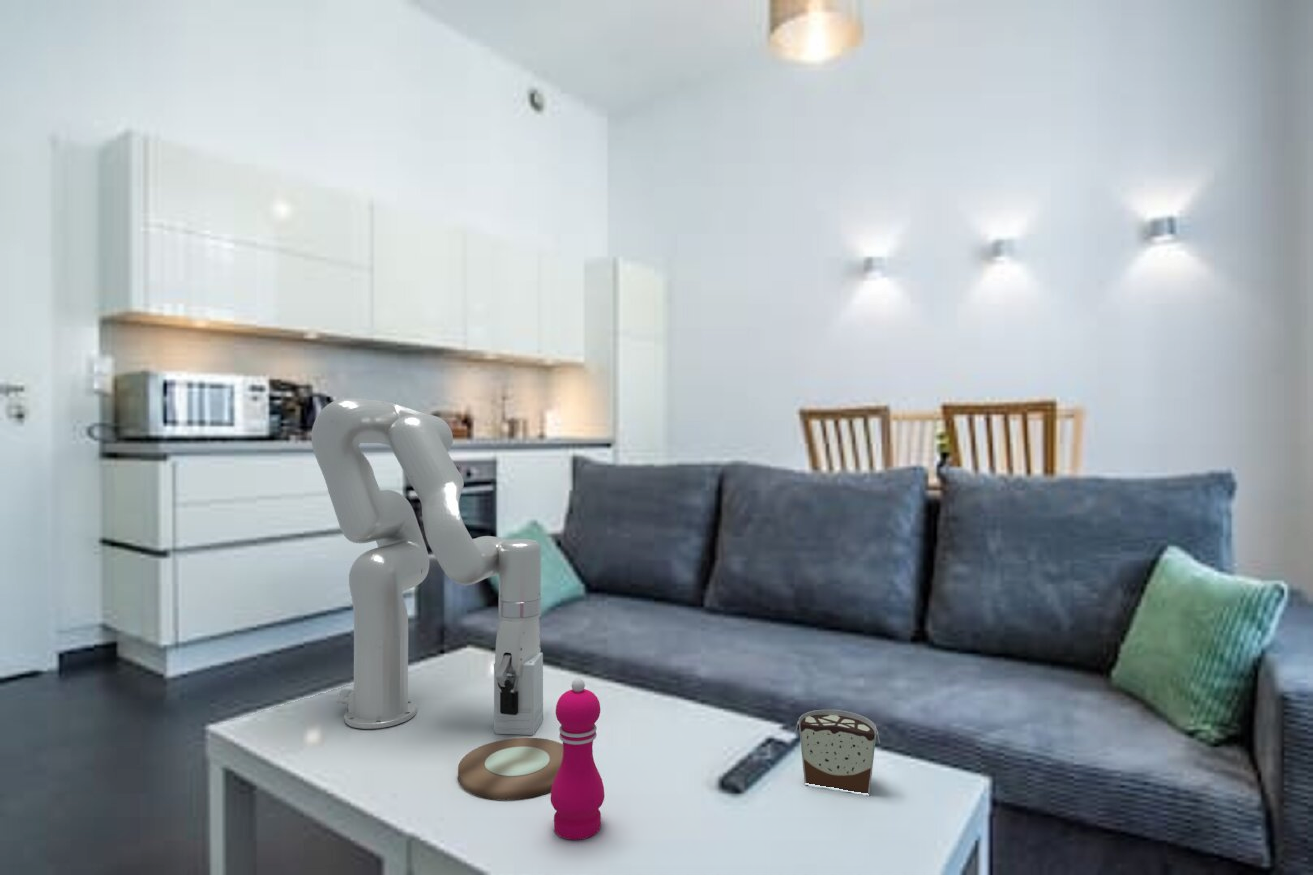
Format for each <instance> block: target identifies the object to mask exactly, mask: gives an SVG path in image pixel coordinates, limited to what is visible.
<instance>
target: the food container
mask: <svg viewBox="0 0 1313 875" xmlns="http://www.w3.org/2000/svg"><path fill="white" fill-rule="evenodd" d="M795 727H796V728H795V733H796V732H799V740H800V748H801V749H800V750H801V760H802V768H803V769H802V770H803V779H804V784H805V783H809V784H815V785H820V786H826V787H834V788H839V789H843V790H848V791H854V792H861V793H868V794H869V795H870V792H871V786H872V785H871V782H872V776H873V766H874V758H875V757H874V756H875V749H876V743H877V742H876V741H877V740H878V744H881V740H880V736H879V731H878V729H877V725H876V724H875V723H874V722H873V721H872V720H870V719H869V718H868V717H865V716H863V715H860V714H858V713H854V712H850V711H847V710H846V711H845V710H840V709H839V710H838V709H818V710H812V711H808V712H805V713H803V714H801V716H800V717H798V720H797V721H796V726H795ZM798 730H799V731H798Z"/></svg>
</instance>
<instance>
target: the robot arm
mask: <svg viewBox="0 0 1313 875" xmlns="http://www.w3.org/2000/svg"><path fill="white" fill-rule="evenodd" d="M360 444H382V445H386V446H388V447H390V449H391V451H392V452H393V454H394V456H395V458H396V460H397V462H398V463H399V465H400V467H401V469H402V471H403V473H404V474H405V476H406V477H407V479H408V481H409V482H410V485H411V487H412V488H413V490H414V493H415V494H416V496H417V497H418V500H419V501H420V504H421V516H422V524H423V530H424V534H425V538H426V541H427V544H428V546H429V548H430V550H431V552H432V554H433V555H434V557H435V559H436V560H437V563H438V564H439V566H440V567H441V569H442V571H443V572H444V573H445V575H446V576H447V577H448V578H449V579H450V580H451V581H452V582H454V583H456V584H458V585H462V586H471V585H475V584H476V583H480V582H481V581H483V580H485V579H488V578H492V577H495V576H498V618H499V620H498V625H497V631H496V639H495V652H494V654H495V656H494V663H495V674H496V679H497V681H498V686H499V692H500V713H501V714H508V715H517V714H518V691H516V688H517V684H518V678H519V677H520V676H521V675H522V672H523V665H524V664H525V663H526V662H527V661H529V660H530V659H531V658H533V657H534V656H535V655H537V654H538V653H541V634H540V633H541V632H540V631H541V630H540V618H541V616H542V610H541V608H542V601H541V600H542V594H541V592H542V591H541V590H542V569H541V568H542V548H541V544H540V543H539V542H538V541H537V540H534V539H530V538H513V539H509V538H508V539H507V538H502V537H498V536H491V535H485V536H484V535H483V536H478V537H476V538H472V536H471V534H470V533H469V531H468V529H467V527H466V525H465V523H464V521H463V518H462V515H461V512H460V511H461V510H460V499H461V494H462V492H463V488H464V484H465V483H464V479H463V477H462V475H461V473H460V472H459V470H458V468H457V466H456V465H455V463H454V461H453V459H452V458H451V455H450V454H449V452H450V450H451V448H452V445H453V444H454V436H453V432H452V428H451V426H449V424H448V423H447V422H446V421H445V420H444V419H443V418H441V417H439V416H436V415H433V414H429V413H425V412H423V411H418V410H415V409H412V408H409V407H407V406H404V405H400V404H396V403H394V402H391V401H385V400H377V399H369V398H359V397H344V398H340V399H336V400H334V401H332V402H329V403H328V404H327V405H325V406H324V407H323V408H322V409H321V410H320V412H319V413H318V415H317V416H316V418H315V420H314V422H313V425H312V429H311V446H312V450H313V454H314V456H315V459H316V461H317V464H318V466H319V469H320V471H321V472H322V473H321V474H322V475H323V478H324V482H325V484H326V488H327V491H328V494H329V499H330V500H331V503H332V507H333V510H334V513H335V515H336V518H337V522H338V526H339V528H340V531H341V532H342V534H343V536H344V537H345V539H347V540H348V541H349V542H351V543H353V544H367V543H368V544H369V543H372V542H375V543H376V544H377V547H374V548H372V549H369V550H367V551H365V552H363V553H362V554H360V555H359V556H358V557H357V558H356V559H355V560H354V561H353V563H352V565H351V567H350V569H349V570H350V571H349V573H348V585H349V590H350V591H349V592H350V596H351V601H352V602H351V603H352V611H353V689H349V688H348V689H347V688H343V689H341V690H340V691H339V696H338V697H337V700H336V702H337V704H339V705H340V704H341V705H346V704H347V706H348V709H347V710H346V711H345V713H344V716H343V717H344V723H345V724H346V725H347V726H349V727H351V728H356V729H361V730H362V729H363V730H375V729H376V730H377V729H384V728H389V727H393V726H397V725H400V724H403V723H405V722H407V721H409V720H411V719H412V718H413V717H414V716H415V715H416V714H417V709H418V708H417V704H416V703H415V702H414V701H412V700H410V699H408V698H409V614H408V610H407V606H406V603H405V600H404V595H403V593H404V592H405V591H406V592H407V590H410V589H413V588H415V587H417V586H418V585H420V584H421V583H422V582H423V581H424V580H425V579H426V578H427V576H428V573H429V570H430V556H429V553H428V550H427V546H426V543H425V540H424V537H423V534H422V531H421V528H420V526H419V522H418V519H417V516H416V513H415V510H414V509H413V506H412V505H411V503H410V501H409V500H408V499H407V498H406V497H405V496H404V495H403V494H401V493H399V492H398V491H395V490H391V489H383V490H382V489H381V488H380V486H379V484H378V482H377V479H376V476H375V473H374V470H373V467H372V465H371V463H370V461H369V459H368V458H367V456H365V454H364V453H363V451H362V450H361V448H360ZM511 664H512V667H513V669H514V670H515V673H507V672H508V670H509V667H510V665H511ZM507 677H509V678H513V681H512V684H511V682H510V681H509V680H507Z"/></svg>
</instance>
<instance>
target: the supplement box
mask: <svg viewBox="0 0 1313 875" xmlns="http://www.w3.org/2000/svg"><path fill="white" fill-rule="evenodd" d="M507 673H515V670H514V669H513V667H512V664H511V665H510V667H509V670H508V672H507ZM493 680H494V682H493V683H494V684H493V694H494V696H493V699H494V700H493V708H494V709H493V710H494V712H493V713H494V714H493V717H494V718H493V720H494V723H493V724H494V725H493V726H494V734H495V735H518V736H519V735H520V736H524V735H525V736H534V735H535V733H536V732H537V730H538V728H539V727H540V725H541V724H542V722H543V720H544V653H543V652H540V653H538V654H537V655H535V656H534V657H533V658H531V659H530V660H529V661H527V662H526V663H525V664H524V665H523V672H522V675H521V676H520V677H519V678H518V684H517V688H516V691H518V714H517V715H508V714H501V713H500V692H499V686H498V681H497V679H496V674H495V662H494V663H493ZM507 680H509V681H510V682H511V684H512V681H513V678H509V677H507Z"/></svg>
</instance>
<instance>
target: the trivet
mask: <svg viewBox="0 0 1313 875" xmlns="http://www.w3.org/2000/svg"><path fill="white" fill-rule="evenodd" d="M562 758H563V743H561V742H558V741H555V740H551V739H547V738H542V737H540V738H539V737H512V738H506V739H501V740H496V741H492V742H490V743H486V744H483V745H481V746H478V747H476V748H474V749H473V750H470V751H469V752H468V753H467V754H465V755H464V756H463V757H462V758H461V760H460V761H459V764H458V767H457V780H458V784H459V786H460V787H461V788H462V789H463V790H464V791H466V792H467V793H469V794H471V795H473V796H476V797H478V798H483V799H488V800H493V801H494V800H495V801H519V800H525V799H527V800H528V799H533V798H535V797H536V798H537V797H541V796H543V795H546V794H550V793H551V789H552V785H553V782H554V779H555V777H556V774H557V772H558V770H559V768H560V766H561V762H562Z"/></svg>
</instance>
